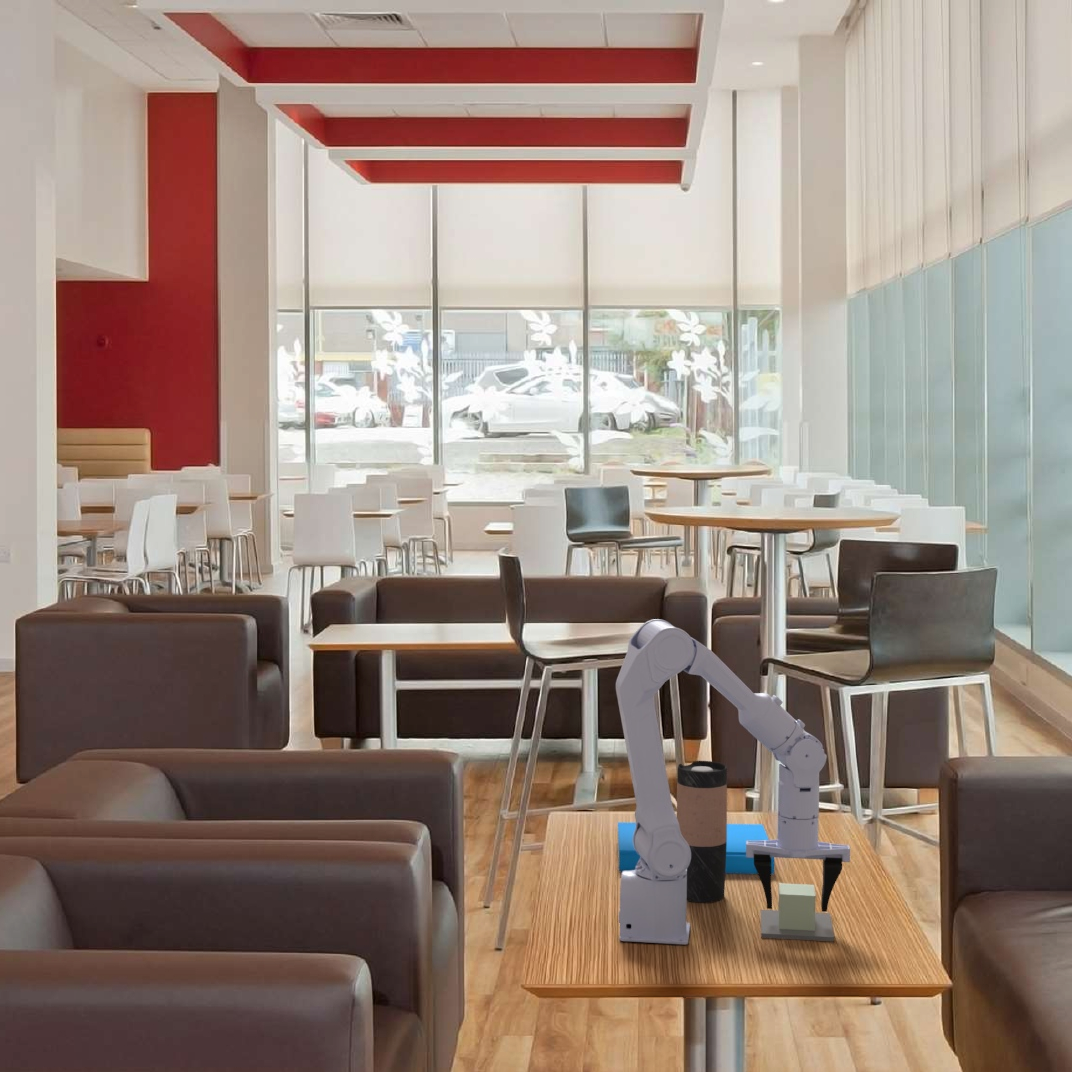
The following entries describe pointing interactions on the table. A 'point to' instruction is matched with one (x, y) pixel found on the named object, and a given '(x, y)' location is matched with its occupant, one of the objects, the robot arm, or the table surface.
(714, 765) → the travel mug
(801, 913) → the cube
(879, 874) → the table surface
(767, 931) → the coaster
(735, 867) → the book
